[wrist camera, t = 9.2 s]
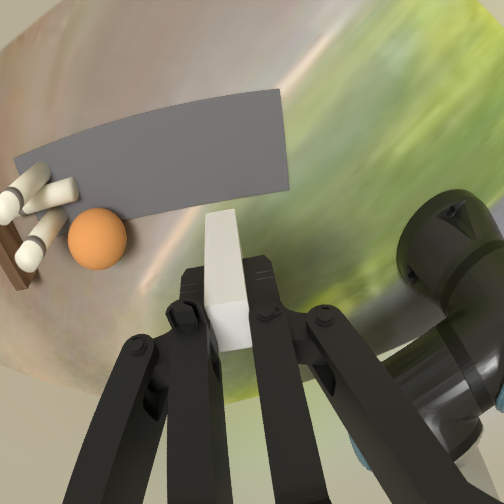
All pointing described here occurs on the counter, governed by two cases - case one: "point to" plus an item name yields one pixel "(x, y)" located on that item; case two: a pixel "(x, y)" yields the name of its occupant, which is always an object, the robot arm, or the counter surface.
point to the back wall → (13, 257)
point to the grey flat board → (172, 157)
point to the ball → (97, 238)
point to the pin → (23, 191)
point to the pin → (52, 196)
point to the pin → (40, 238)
